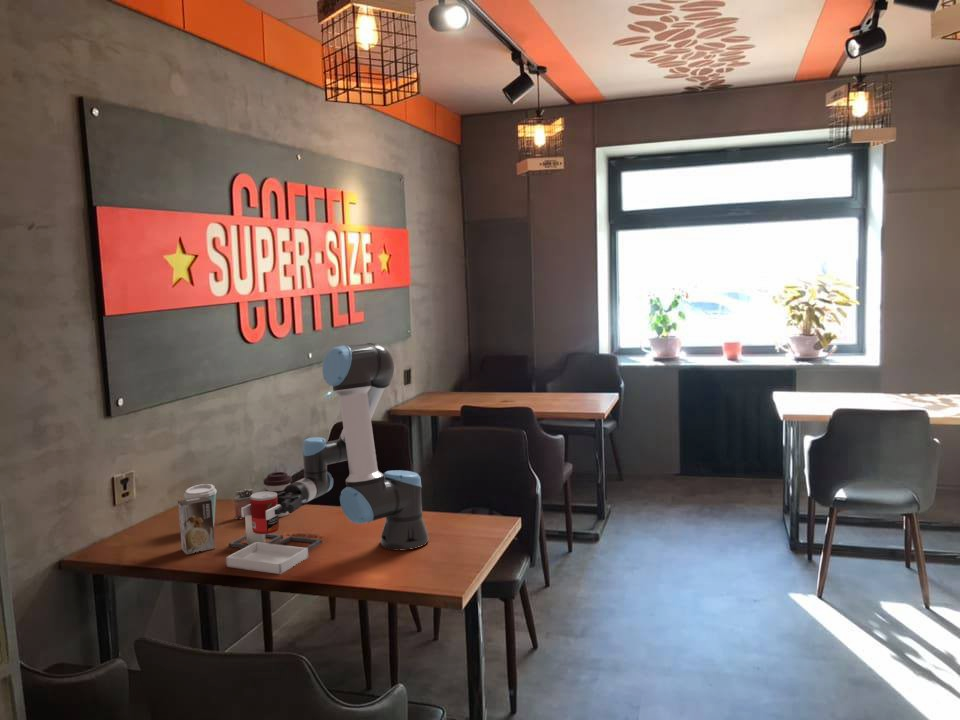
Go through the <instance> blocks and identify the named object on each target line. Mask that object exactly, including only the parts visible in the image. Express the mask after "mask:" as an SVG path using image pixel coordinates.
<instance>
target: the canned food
mask: <svg viewBox="0 0 960 720" xmlns="http://www.w3.org/2000/svg"><path fill="white" fill-rule="evenodd" d="M250 500H251V501H250V502H251V518H252V530H253V532H254V533H256V534H273V533H276V532H277V531H278V530H279V528H280V527H279V526H280V523H279V517H278V515H277V516H275V517H273V518H271V519H269V520H266V510H268V509H270V508H272V507H275V506H277V505H278V498H277V493H275V492H270V491H266V490H265V491H259V492H258V491H257V492H253V494H252V495H251V497H250Z"/></svg>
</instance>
